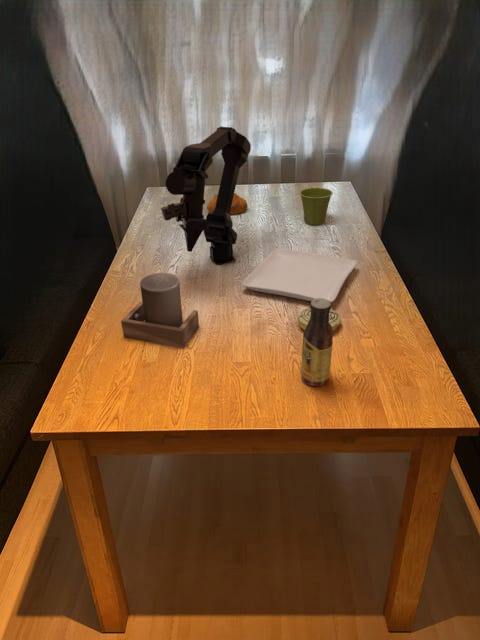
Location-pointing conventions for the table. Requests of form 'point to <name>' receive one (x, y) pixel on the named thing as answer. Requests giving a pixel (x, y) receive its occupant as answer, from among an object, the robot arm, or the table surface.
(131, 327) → the holder
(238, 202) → the croissant
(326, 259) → the square plate
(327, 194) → the plant pot
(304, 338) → the sauce bottle
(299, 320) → the decorated donut
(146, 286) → the pillar candle
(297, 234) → the table surface
